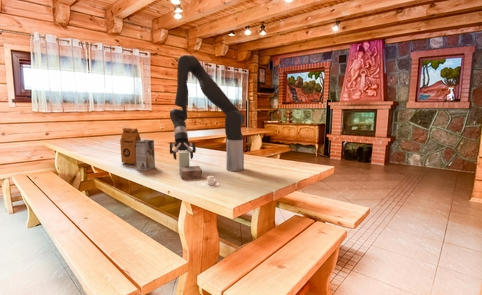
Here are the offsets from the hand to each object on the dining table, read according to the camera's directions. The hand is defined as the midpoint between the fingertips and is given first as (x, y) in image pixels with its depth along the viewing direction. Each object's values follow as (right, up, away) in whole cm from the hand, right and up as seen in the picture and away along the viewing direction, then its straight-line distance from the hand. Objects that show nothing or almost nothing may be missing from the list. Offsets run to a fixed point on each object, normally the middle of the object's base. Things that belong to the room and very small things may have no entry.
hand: (183, 158), depth 146 cm
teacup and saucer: (+20, -11, -22) cm, 32 cm away
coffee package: (-36, -4, +19) cm, 41 cm away
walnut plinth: (+6, -9, -10) cm, 14 cm away
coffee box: (-23, -6, +6) cm, 24 cm away
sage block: (0, -7, 0) cm, 7 cm away
